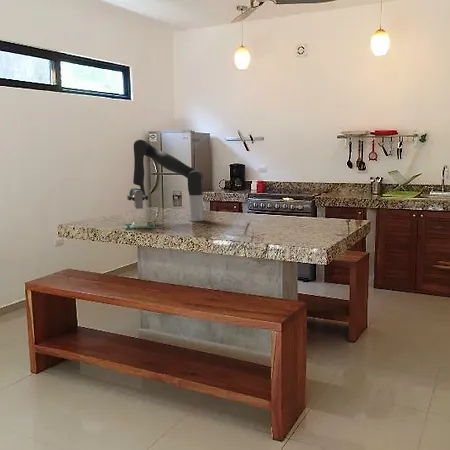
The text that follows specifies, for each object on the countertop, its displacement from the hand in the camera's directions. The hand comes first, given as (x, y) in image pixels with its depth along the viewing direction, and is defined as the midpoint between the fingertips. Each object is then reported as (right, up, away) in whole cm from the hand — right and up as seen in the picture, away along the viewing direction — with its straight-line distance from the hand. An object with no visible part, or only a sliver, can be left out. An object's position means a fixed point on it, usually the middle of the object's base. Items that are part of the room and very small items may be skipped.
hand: (138, 198), depth 309 cm
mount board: (0, -17, +5) cm, 18 cm away
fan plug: (0, -6, +3) cm, 7 cm away
